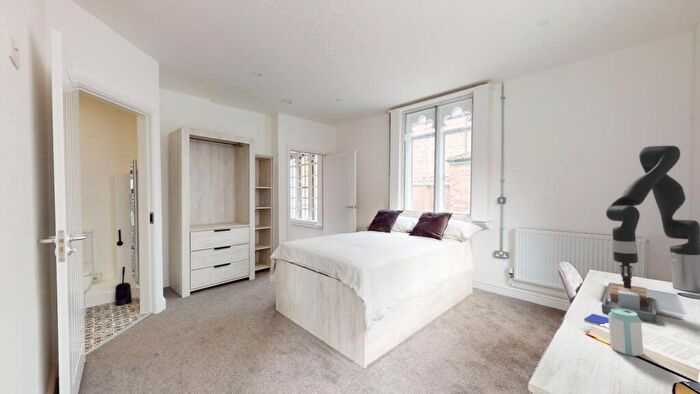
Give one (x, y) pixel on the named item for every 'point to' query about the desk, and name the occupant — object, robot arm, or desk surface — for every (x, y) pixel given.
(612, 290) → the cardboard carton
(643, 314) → the box
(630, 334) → the can
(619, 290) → the tile
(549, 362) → the desk surface
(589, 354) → the desk surface
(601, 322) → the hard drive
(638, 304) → the tile
